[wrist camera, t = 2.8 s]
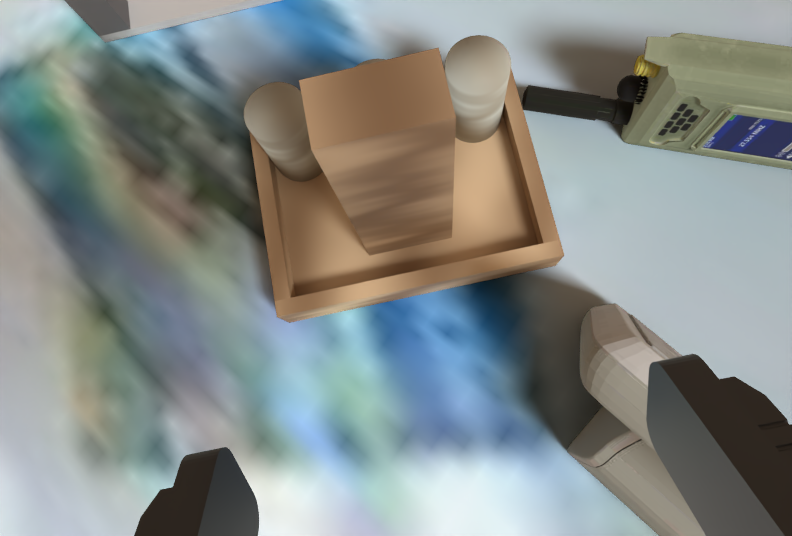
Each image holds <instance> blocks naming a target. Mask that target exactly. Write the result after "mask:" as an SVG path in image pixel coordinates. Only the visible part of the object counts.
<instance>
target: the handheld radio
mask: <svg viewBox="0 0 792 536" xmlns="http://www.w3.org/2000/svg"><path fill="white" fill-rule="evenodd" d="M634 74H635V75H636V76H626V77H625V78H623V79H622V80H621V81H620V83H619V85H618V87H617V93H618V96H619V98H620V99H619V98H617V100H613V99H606V98H600V96H595V95H589V94H582V93H576V92H569V91H562V90H556V89H549V88H543V87H536V86H530V85H528V87H527V88H526V90H525V92H524V95H523V100H522V104H523V110H530V111H536V112H543V113H549V114H556V115H562V116H569V117H576V118H582V119H589V120H595V119H601V120H607V121H611V123H615V124H622V125H623V129H622V135H621V138H622V140H623V141H624V142H626V143H628V144H633V145H640V146H646V147H652V148H659V149H665V150H671V151H678V152H684V153H690V154H697V155H703V156H709V157H716V158H722V159H728V160H735V161H741V162H747V163H753V164H760V165H766V166H772V167H779V168H785V169H791V170H792V47H788V46H780V45H772V44H765V43H757V42H749V41H741V40H734V39H726V38H718V37H710V36H703V35H695V34H687V33H677V34H673V35H671V37H647V40H646V45H645V52H644V55H641V56H638V58H637V60H636V63H635V66H634ZM639 75H641V76H639ZM643 79H645V80H643ZM642 80H643V81H642ZM641 83H642V84H641Z"/></svg>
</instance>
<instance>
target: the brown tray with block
mask: <svg viewBox="0 0 792 536" xmlns="http://www.w3.org/2000/svg"><path fill="white" fill-rule="evenodd" d="M299 83H300V88H301V91H300V90H299V89H297V88H296V87H295V86H293V85H291V84H288V83H284V82H273V83H269V84H266V85H263V86H261V87H260V88H258V89H257V90H255V91H254V92H253V93H252V95H251V96H250V97H249V99H248V100H247V102H246V105H245V108H244V120H245V123H246V126H247V128H248V129H249V132H250V139H251V145H252V152H253V159H254V165H255V172H256V179H257V186H258V192H259V199H260V206H261V213H262V219H263V226H264V233H265V239H266V246H267V253H268V260H269V266H270V273H271V280H272V287H273V293H274V300H275V307H276V313H277V317H278V318H280V319H283V320H285V321H287V322H289V323H290V322H295V321H299V320H304V319H309V318H313V317H318V316H323V315H327V314H332V313H337V312H341V311H346V310H351V309H355V308H360V307H365V306H369V305H374V304H379V303H383V302H388V301H393V300H397V299H402V298H407V297H411V296H416V295H421V294H425V293H430V292H435V291H439V290H444V289H449V288H453V287H458V286H463V285H467V284H472V283H477V282H481V281H486V280H491V279H495V278H500V277H505V276H509V275H514V274H519V273H523V272H528V271H533V270H537V269H542V268H547V267H551V266H556V264H557V263H558V262H559V261H560V260H561V258H562V257H563V256H564V253H563V249H562V246H561V242H560V239H559V235H558V232H557V228H556V225H555V221H554V218H553V214H552V210H551V207H550V203H549V200H548V196H547V193H546V189H545V186H544V182H543V179H542V175H541V172H540V168H539V165H538V161H537V158H536V154H535V151H534V147H533V144H532V140H531V137H530V133H529V129H528V126H527V122H526V119H525V115H524V112H523V108H522V105H521V101H520V98H519V94H518V91H517V87H516V84H515V80H514V77H513V73H512V70H511V58H510V55H509V53H508V51H507V49H506V48H505V46H504V45H503V44H502V43H500V42H499V41H497V40H496V39H494V38H491V37H488V36H481V35H477V36H470V37H467V38H464V39H462V40H460V41H459V42H457V43H456V44H455V45H454V46H453V47H452V48H451V49H450V51H449V52H448V54H447V57H446V61H445V71H444V68H443V64H442V60H441V56H440V52H439V48H435V49H431V50H427V51H422V52H418V53H414V54H410V55H405V56H401V57H397V58H392V59H388V60H384V59H371V60H367V61H365V62H362V63H360V64H359V65H357V66H356V67H354V68H349V69H345V70H341V71H336V72H332V73H328V74H324V75H319V76H315V77H311V78H306V79H302V80H299Z"/></svg>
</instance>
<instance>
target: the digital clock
mask: <svg viewBox="0 0 792 536" xmlns="http://www.w3.org/2000/svg"><path fill="white" fill-rule="evenodd" d="M680 356H682V355H681V354H679V353H678V352H677V351H676V350H674V349H673V348H672V347H671V346H670V345H668V344H667V343H666V342H665V341H663V340H662V339H661V338H660V337H659V336H657V335H656V334H655V333H654V332H652V331H651V330H650V329H649V328H647V327H646V326H645V325H644V324H643V323H641V322H640V321H639V320H638V319H636V318H635V317H634V316H633V315H630V314H629V313H627V312H626V311H625V310H624V309H622V308H621V307H620V306H618V305H617V304H609V305H602V306H597V307H592V308H590V310H589V311H588V312H587V313H586V315H585V317H584V319H583V321H582V325H581V331H580V377H581V380H582V383H583V386H584V387H585V388H586V390H587V391H588V392H589V393H590V394H591V395H592V396H593V397H594V398H595V399H596V400H597V401H598V402H599V403H600V404H602V405H603V406H602V407H601V409H600V410H599V411H598V412H597V413H596V415H595V416H594V417H593V418H592V419H591V420H590V422H589V423H588V424H587V425H586V426H585V427H584V429H583V430H582V431H581V432H580V433H579V435H578V436H577V437H576V438H575V439H574V440H573V442H572V443H571V444H570V445H569V447H568V449H567V452H568V453H569V454H570V455H571V456H572V457H573V458H575V459H576V460H577V461H578V462H579V463H580V464H581V465H582V466H583V467H584V468H585V469H587V470H588V471H589V472H590V473H591V474H592V475H593V476H594V477H595V478H597V479H598V480H599V481H600V482H601V483H602V484H603V485H604V486H605V487H606V488H608V489H609V490H610V491H611V492H612V493H613V494H614V495H615V496H616V497H617V498H619V499H620V500H621V501H622V502H623V503H624V504H625V505H626V506H627V507H628V508H630V509H631V510H632V511H633V512H634V513H635V514H636V515H637V516H638V517H639V518H641V519H642V520H643V521H644V522H645V523H646V524H647V525H648V526H649V527H650V528H652V529H653V530H654V531H655V532H656V533H657V534H658V535H659V536H706V535H705V533H704V531H703V530H702V528H701V526H700V525H699V523H698V521H697V520H696V518H695V516H694V515H693V513H692V511H691V510H690V508H689V506H688V505H687V503H686V501H685V500H684V498H683V496H682V495H681V493H680V491H679V490H678V488H677V486H676V484H675V483H674V481H673V479H672V478H671V476H670V474H669V473H668V471H667V469H666V468H665V466H664V464H663V463H662V461H661V459H660V458H659V456H658V454H657V452H656V451H655V449H654V446H653V444H652V442H651V439H650V436H649V432H648V428H647V421H646V415H647V396H648V377H649V367H650V364H651V363H652V362H656V361H661V360H666V359H671V358H676V357H680Z"/></svg>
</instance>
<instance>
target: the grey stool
mask: <svg viewBox="0 0 792 536" xmlns="http://www.w3.org/2000/svg"><path fill="white" fill-rule="evenodd" d="M65 1H66V2H67V3H68V4H69V5H70V6H71V7H72V9H73V10H74V11H75V12H76V13H77V14H78V15H79V16H80V17H81V18H82V19H83V20H84V21H85V22H86V23H87V24H88V25H89V26H90V27H91V28H92V29H93V30H94V31H95V32H96V33H97V34H98V35H99V36H100V37H101V39H102V40H103V41H104V42H109V41H114V40H118V39H122V38H126V37H130V36H135V35H139V34H143V33H147V32H151V31H155V30H160V29H164V28H168V27H172V26H176V25H181V24H185V23H189V22H193V21H197V20H202V19H206V18H210V17H214V16H218V15H222V14H227V13H231V12H235V11H239V10H243V9H248V8H252V7H256V6H260V5H264V4H268V3H273V2H277V1H281V0H65Z"/></svg>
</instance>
